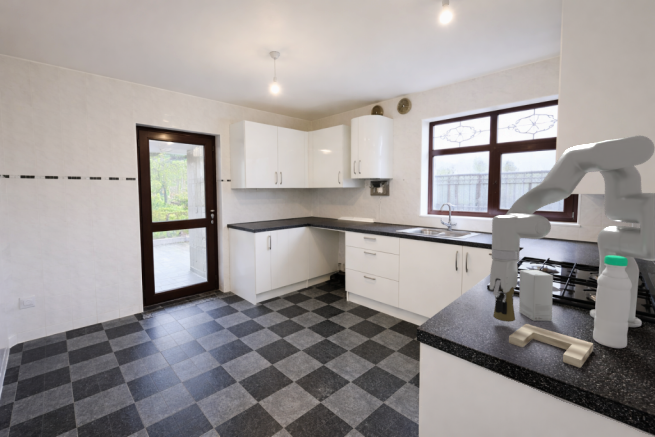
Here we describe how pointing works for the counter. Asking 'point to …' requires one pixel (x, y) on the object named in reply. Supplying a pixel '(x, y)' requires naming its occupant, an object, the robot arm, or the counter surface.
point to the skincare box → (536, 295)
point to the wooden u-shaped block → (554, 343)
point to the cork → (510, 309)
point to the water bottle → (612, 303)
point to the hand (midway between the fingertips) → (504, 310)
